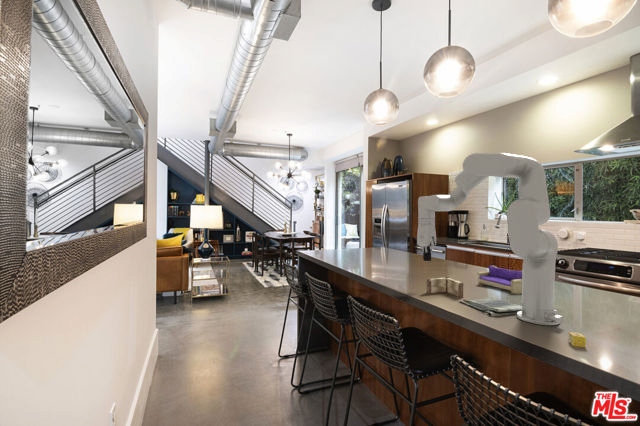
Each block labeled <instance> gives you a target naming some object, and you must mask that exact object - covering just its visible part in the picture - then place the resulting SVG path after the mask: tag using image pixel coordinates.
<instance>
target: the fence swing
mask: <svg viewBox="0 0 640 426" xmlns="http://www.w3.org/2000/svg"><path fill="white" fill-rule="evenodd" d="M446 280H447V278H445V277H437V278H435V277H434V278H426V294H436V293H437V294H438V293H447V292H446Z"/></svg>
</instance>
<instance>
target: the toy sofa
mask: <svg viewBox="0 0 640 426" xmlns="http://www.w3.org/2000/svg"><path fill="white" fill-rule="evenodd" d="M476 274H477V285H478V286H486V285H487V286H492V287H496V288H499V289H503V290H508V291H510V293H511V294H514V295H515V294H517V295H520V294H521V295H522V270H513V269H506V268H501V267H497V266H496V265H489V266H488V271H478V272H477V273H476Z"/></svg>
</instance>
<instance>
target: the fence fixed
mask: <svg viewBox="0 0 640 426" xmlns="http://www.w3.org/2000/svg"><path fill="white" fill-rule="evenodd" d="M444 278H447V280H446V292H445V293H449V294H452V295H453V296H456V297H458V298H461V299H462V298H464V282H461V281H459V280H456V279H453V278H450V276H445V277H444Z"/></svg>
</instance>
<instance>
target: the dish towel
mask: <svg viewBox="0 0 640 426" xmlns="http://www.w3.org/2000/svg"><path fill="white" fill-rule="evenodd" d="M457 303H463V304H464V305H466V306H468V307H471V308H473V309H475V310H479V311H481V312H482V314H484V315H485V314H487V316H490V317H491V318H493V317H500V316H508V315H517V312H519V311H522V305H520V304H516V303H513V302H512V303H511V302H509V301H506V300H502V299H498V298H495V297H487V298H474V299H463V300H458V302H457Z"/></svg>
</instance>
